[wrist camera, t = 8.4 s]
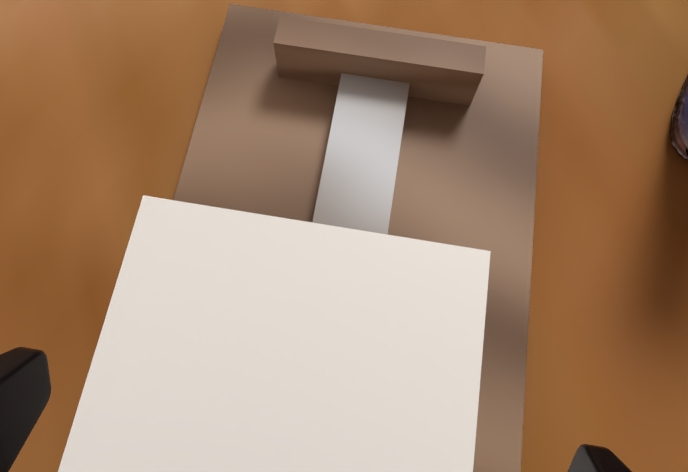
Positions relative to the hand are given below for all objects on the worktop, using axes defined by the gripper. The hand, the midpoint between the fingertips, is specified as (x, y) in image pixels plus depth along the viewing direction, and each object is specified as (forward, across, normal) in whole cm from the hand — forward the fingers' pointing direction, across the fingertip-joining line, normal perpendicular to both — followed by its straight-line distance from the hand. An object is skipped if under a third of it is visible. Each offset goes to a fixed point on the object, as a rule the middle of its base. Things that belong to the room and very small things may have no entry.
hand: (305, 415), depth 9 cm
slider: (+5, 0, +4) cm, 6 cm away
